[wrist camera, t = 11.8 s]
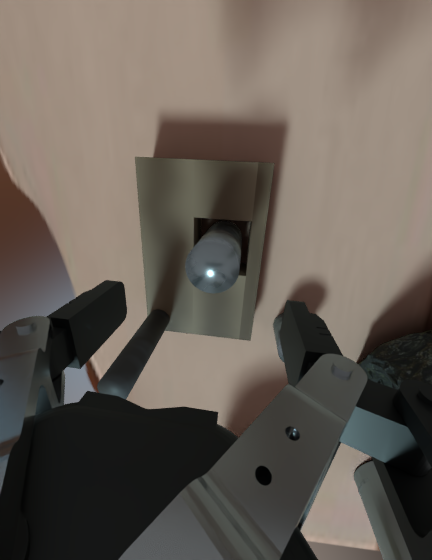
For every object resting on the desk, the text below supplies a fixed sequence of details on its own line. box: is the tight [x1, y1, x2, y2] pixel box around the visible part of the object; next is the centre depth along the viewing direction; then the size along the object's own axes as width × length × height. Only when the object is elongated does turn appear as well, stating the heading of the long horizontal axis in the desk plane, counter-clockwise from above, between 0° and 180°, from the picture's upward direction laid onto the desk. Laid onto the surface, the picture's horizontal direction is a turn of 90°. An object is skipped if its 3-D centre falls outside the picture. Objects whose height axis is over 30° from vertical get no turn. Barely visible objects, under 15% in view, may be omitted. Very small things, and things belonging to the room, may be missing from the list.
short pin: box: [273, 313, 284, 362], centre depth 27 cm, size 4×4×5 cm
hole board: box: [97, 157, 274, 399], centre depth 20 cm, size 12×18×14 cm, turn 177°
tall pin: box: [185, 221, 242, 293], centre depth 21 cm, size 4×4×10 cm
